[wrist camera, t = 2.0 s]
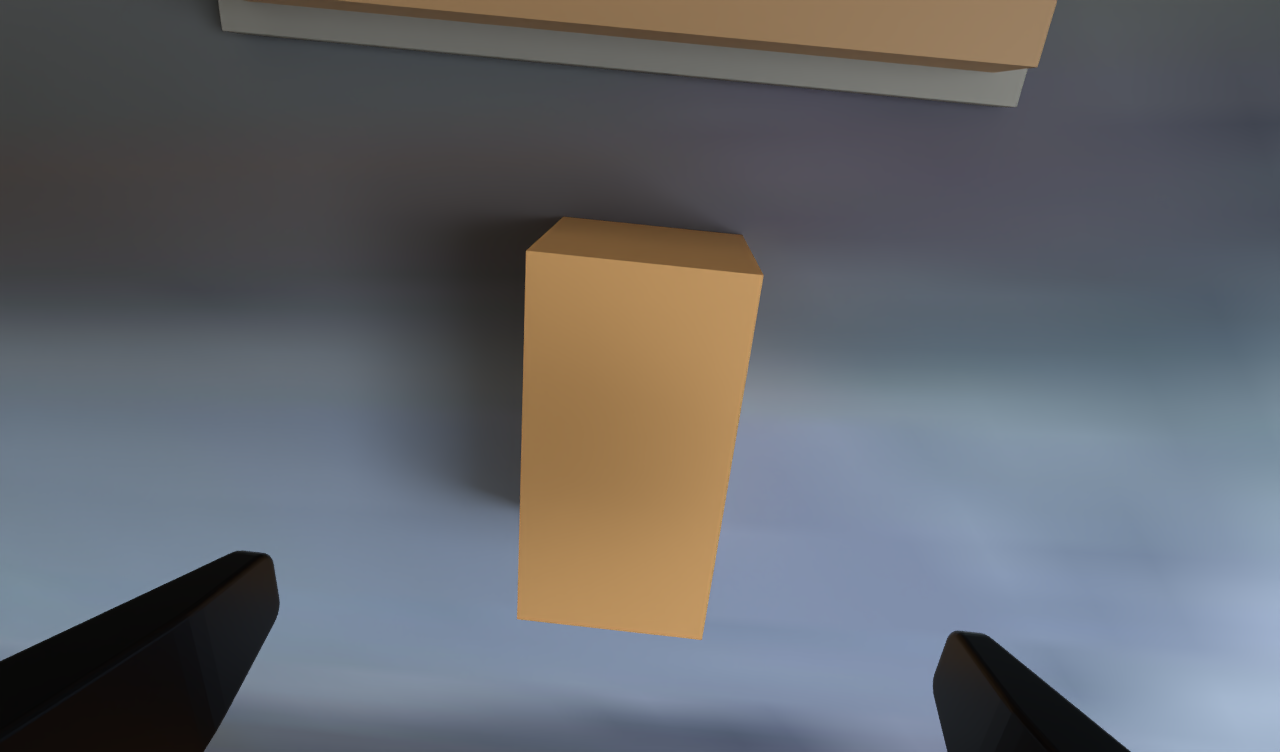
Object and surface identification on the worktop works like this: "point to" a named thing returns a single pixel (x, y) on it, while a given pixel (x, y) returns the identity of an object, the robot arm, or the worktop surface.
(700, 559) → the ochre bar
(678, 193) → the worktop surface
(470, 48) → the board
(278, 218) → the worktop surface
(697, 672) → the worktop surface
